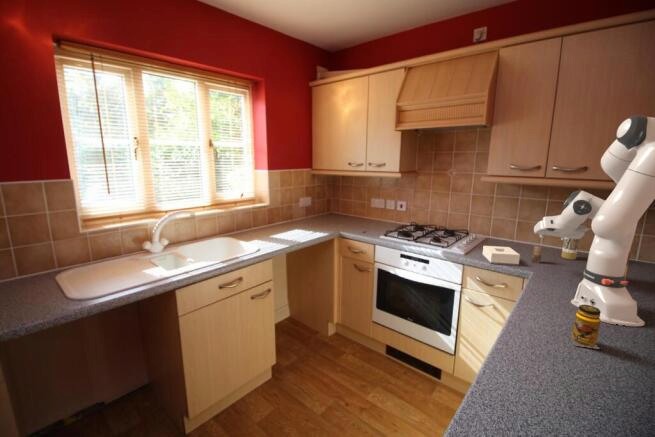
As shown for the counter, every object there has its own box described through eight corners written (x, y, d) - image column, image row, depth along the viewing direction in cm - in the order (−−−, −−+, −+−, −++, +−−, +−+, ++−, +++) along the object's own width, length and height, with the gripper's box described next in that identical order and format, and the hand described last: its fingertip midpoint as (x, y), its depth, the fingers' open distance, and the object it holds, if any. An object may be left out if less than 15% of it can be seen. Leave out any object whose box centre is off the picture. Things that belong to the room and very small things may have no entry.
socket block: (518, 265, 169) (520, 254, 167) (490, 263, 171) (491, 253, 169) (508, 257, 182) (509, 247, 181) (482, 255, 184) (483, 245, 183)
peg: (541, 263, 172) (544, 247, 170) (533, 263, 173) (536, 247, 171) (538, 261, 176) (540, 245, 174) (530, 260, 177) (532, 245, 175)
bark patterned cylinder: (570, 256, 185) (578, 214, 180) (578, 260, 178) (586, 216, 173) (558, 255, 185) (565, 214, 180) (565, 259, 179) (573, 216, 174)
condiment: (575, 347, 98) (582, 311, 96) (563, 332, 106) (569, 299, 104) (603, 351, 96) (610, 315, 94) (589, 335, 104) (595, 302, 102)
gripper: (589, 221, 148) (574, 235, 160) (540, 216, 153) (529, 229, 165) (591, 233, 145) (576, 246, 157) (541, 227, 150) (530, 240, 162)
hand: (551, 237), depth 161 cm, fingers open, 8 cm apart
